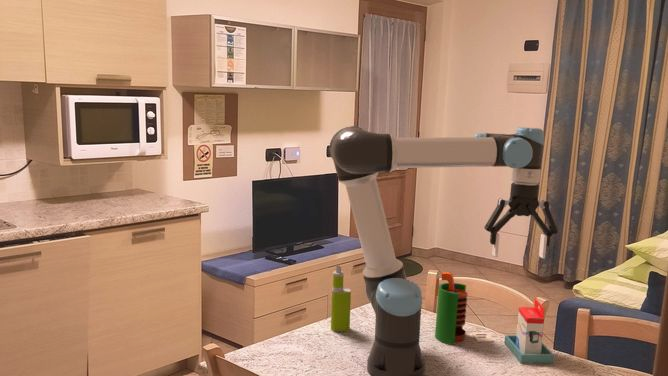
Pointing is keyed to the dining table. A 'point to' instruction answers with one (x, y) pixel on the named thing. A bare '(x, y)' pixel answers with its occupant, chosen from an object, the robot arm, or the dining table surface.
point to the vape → (340, 303)
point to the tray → (543, 358)
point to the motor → (451, 311)
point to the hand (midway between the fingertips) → (518, 256)
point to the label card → (482, 337)
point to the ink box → (530, 329)
